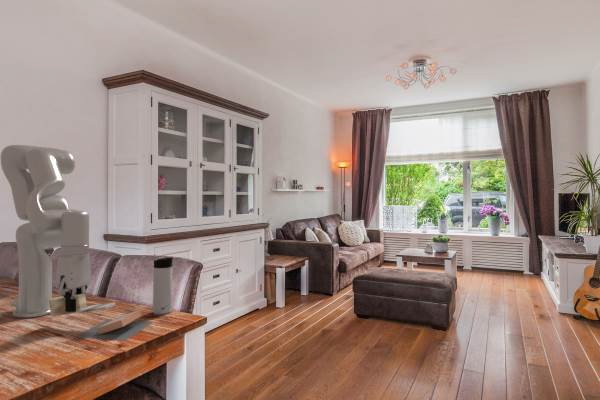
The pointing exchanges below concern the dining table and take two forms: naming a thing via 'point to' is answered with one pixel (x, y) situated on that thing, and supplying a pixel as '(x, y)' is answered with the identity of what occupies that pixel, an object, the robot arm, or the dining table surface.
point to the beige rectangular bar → (59, 305)
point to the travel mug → (162, 286)
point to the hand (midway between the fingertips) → (74, 309)
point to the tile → (119, 322)
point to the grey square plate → (115, 331)
